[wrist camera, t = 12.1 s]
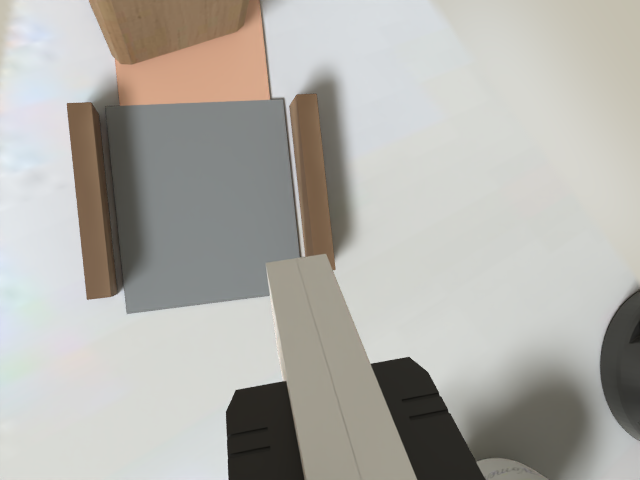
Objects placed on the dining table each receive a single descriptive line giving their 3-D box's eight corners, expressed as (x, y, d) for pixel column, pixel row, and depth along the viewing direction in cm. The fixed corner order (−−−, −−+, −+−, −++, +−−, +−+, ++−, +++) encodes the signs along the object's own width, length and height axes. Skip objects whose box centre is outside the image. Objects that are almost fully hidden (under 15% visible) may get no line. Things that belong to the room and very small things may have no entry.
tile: (253, -53, 41) (253, -55, 41) (269, 100, 41) (270, 99, 41) (103, -57, 38) (102, -59, 38) (120, 106, 38) (119, 105, 38)
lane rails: (308, 105, 42) (316, 93, 39) (325, 269, 41) (335, 269, 39) (76, 115, 38) (66, 103, 35) (95, 296, 38) (86, 299, 35)
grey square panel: (282, 100, 41) (282, 99, 41) (302, 291, 41) (303, 291, 41) (105, 107, 38) (105, 106, 38) (127, 313, 38) (126, 313, 38)
